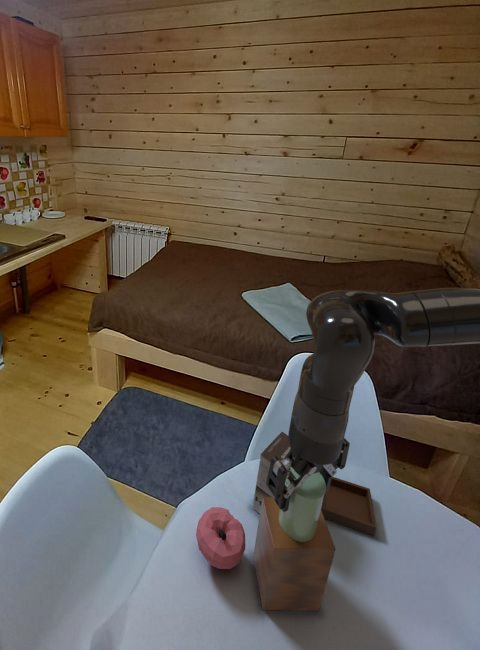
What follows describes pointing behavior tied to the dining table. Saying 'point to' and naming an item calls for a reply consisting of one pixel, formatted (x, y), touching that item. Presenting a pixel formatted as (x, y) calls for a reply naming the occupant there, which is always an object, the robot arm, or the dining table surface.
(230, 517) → the apple
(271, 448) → the coffee box
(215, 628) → the dining table surface
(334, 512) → the tray
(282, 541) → the stand
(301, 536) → the pale green cylinder
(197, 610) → the dining table surface
